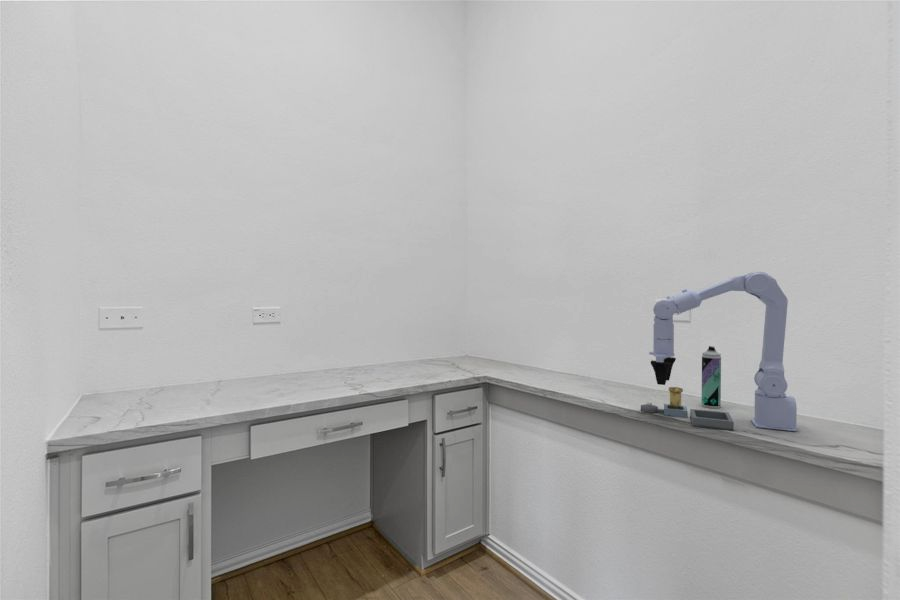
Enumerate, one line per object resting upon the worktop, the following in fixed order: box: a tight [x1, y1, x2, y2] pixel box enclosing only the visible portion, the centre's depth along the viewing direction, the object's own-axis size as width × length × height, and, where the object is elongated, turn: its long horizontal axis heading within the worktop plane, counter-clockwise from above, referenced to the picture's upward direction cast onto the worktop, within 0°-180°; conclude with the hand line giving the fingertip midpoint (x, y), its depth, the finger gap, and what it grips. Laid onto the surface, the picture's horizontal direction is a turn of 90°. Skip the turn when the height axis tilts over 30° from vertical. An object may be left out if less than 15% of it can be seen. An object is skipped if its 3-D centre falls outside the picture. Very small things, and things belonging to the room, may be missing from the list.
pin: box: [667, 386, 684, 410], centre depth 140 cm, size 4×4×8 cm
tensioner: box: [640, 402, 689, 418], centre depth 141 cm, size 13×6×2 cm, turn 65°
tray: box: [689, 408, 735, 431], centre depth 130 cm, size 10×10×2 cm
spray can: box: [701, 345, 722, 410], centre depth 148 cm, size 6×6×20 cm
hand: (663, 382), depth 139 cm, fingers open, 7 cm apart
